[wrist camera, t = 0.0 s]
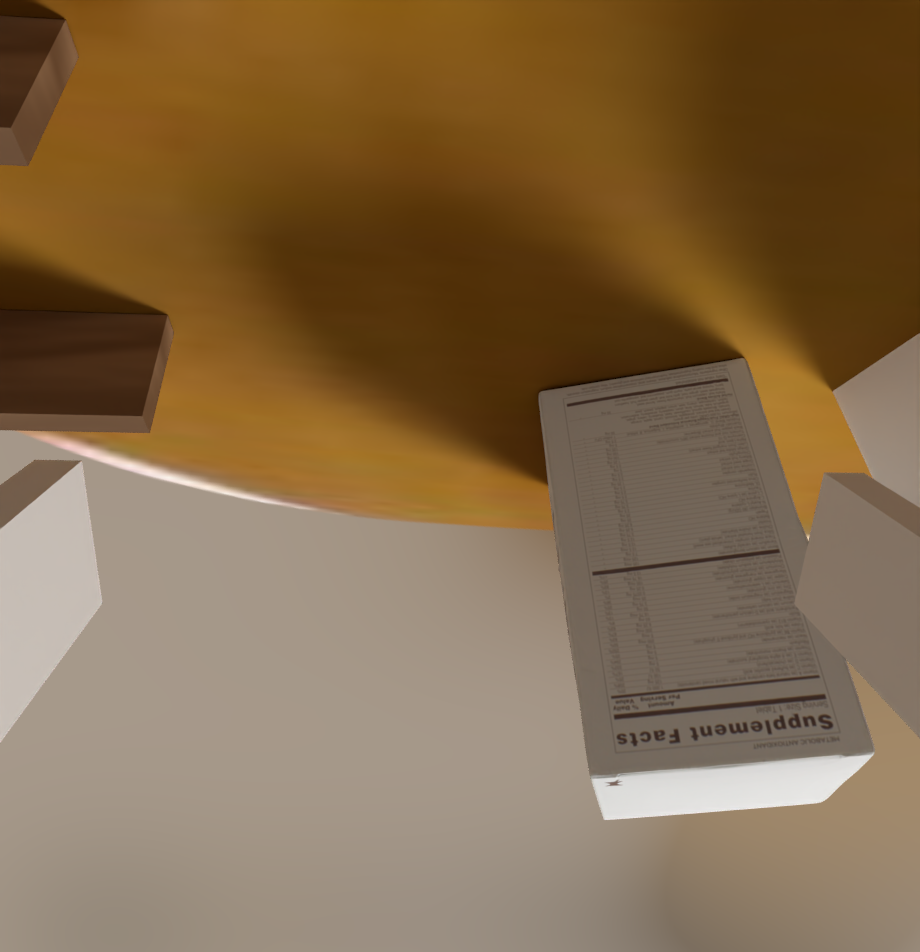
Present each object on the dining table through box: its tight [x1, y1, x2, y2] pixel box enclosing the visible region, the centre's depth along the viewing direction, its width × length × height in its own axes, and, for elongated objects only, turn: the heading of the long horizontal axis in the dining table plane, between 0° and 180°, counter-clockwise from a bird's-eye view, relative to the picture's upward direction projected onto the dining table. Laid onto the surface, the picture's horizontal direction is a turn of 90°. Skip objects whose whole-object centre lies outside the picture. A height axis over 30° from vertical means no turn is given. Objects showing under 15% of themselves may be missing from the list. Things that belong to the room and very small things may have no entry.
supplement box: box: [539, 358, 875, 820], centre depth 32 cm, size 10×9×17 cm
